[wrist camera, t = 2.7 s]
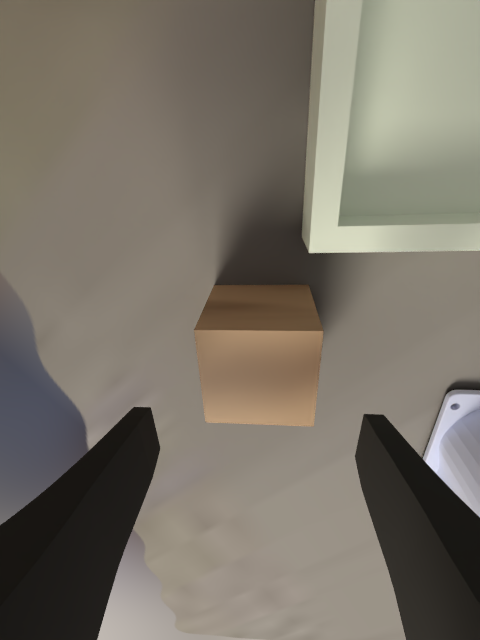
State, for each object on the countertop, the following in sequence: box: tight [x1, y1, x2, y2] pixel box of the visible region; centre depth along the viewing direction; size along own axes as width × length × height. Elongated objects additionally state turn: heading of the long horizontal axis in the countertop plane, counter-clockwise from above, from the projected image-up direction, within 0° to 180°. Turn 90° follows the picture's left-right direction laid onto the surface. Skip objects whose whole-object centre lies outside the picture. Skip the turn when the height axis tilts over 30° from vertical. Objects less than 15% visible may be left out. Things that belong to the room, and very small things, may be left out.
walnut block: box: [194, 285, 324, 426], centre depth 15 cm, size 5×5×5 cm
